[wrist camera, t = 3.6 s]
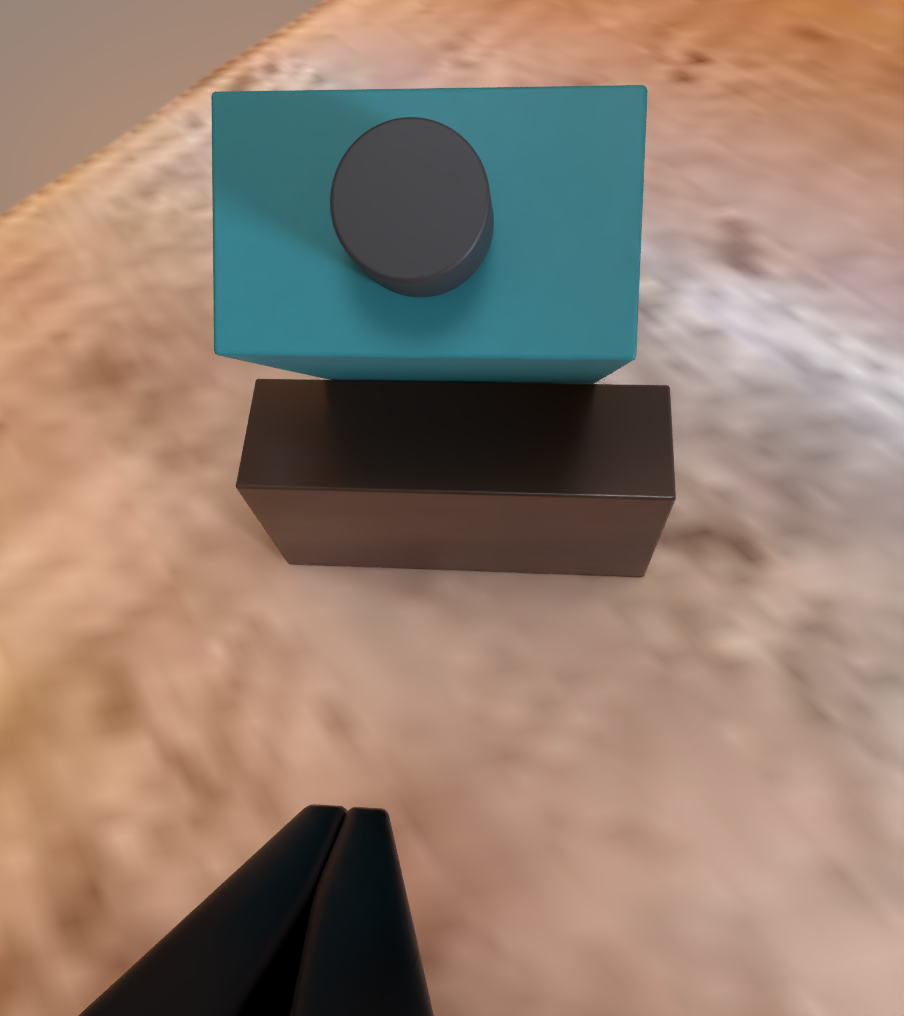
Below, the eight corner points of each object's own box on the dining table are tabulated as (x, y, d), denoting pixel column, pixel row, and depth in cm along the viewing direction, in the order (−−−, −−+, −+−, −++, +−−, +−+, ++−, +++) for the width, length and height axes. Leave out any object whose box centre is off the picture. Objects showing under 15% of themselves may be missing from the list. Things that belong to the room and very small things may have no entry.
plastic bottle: (581, 593, 23) (666, 229, 10) (344, 584, 23) (142, 230, 11) (581, 300, 27) (642, -224, 14) (379, 298, 27) (262, -206, 15)
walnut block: (644, 577, 23) (676, 499, 18) (287, 564, 24) (234, 487, 19) (641, 479, 24) (669, 384, 20) (302, 470, 25) (255, 377, 20)
